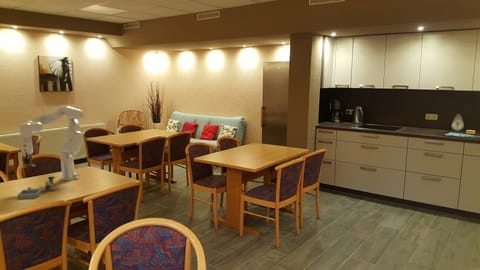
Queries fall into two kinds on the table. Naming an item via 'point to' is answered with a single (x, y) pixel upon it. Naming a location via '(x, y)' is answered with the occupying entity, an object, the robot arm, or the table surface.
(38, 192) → the tray
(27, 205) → the table surface
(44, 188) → the crank base
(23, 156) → the condiment
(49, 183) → the crank
